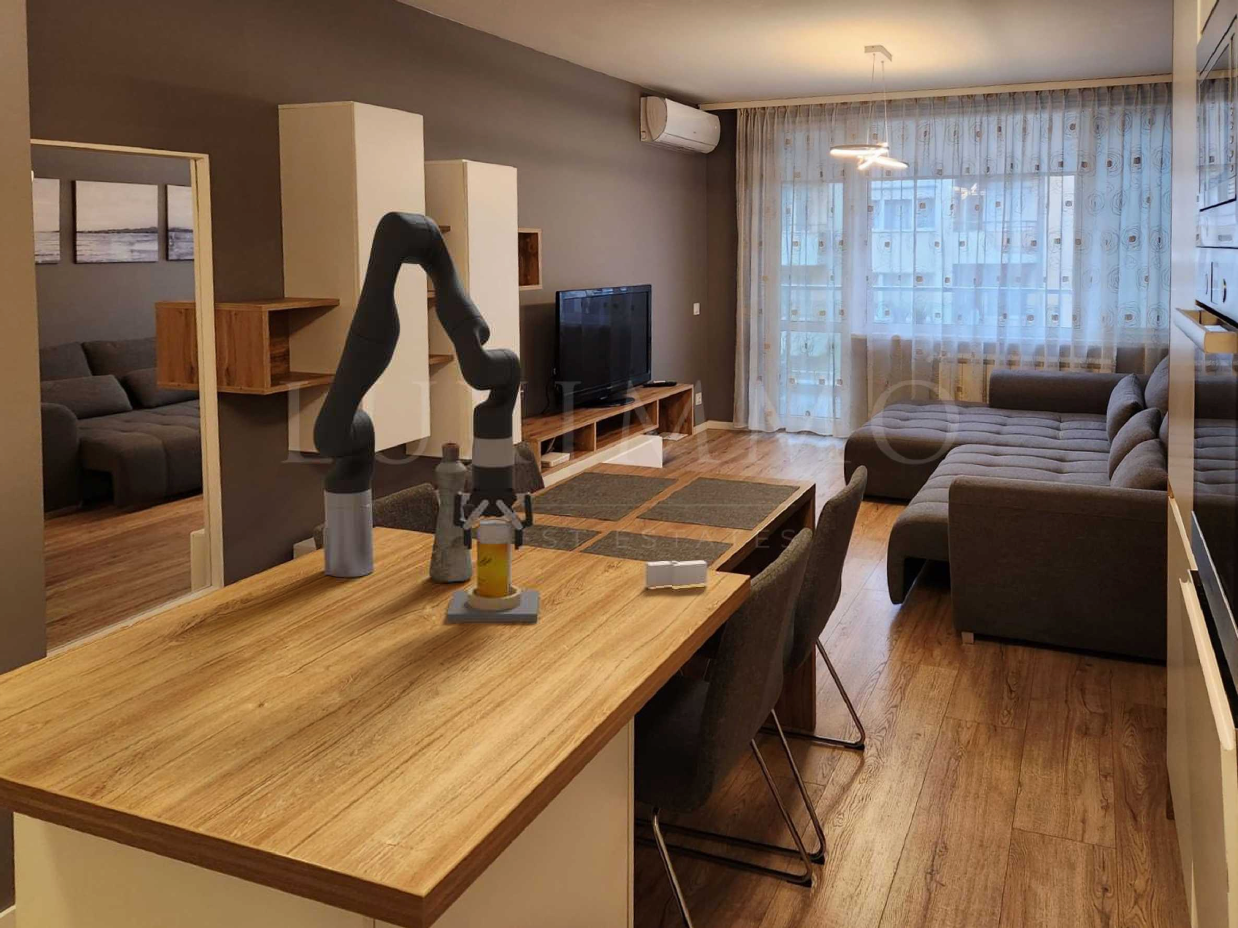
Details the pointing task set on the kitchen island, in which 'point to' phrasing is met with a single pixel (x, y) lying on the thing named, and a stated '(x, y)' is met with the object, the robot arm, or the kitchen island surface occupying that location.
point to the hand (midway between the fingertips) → (493, 548)
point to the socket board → (494, 606)
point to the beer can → (493, 558)
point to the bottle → (450, 522)
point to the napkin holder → (675, 573)
